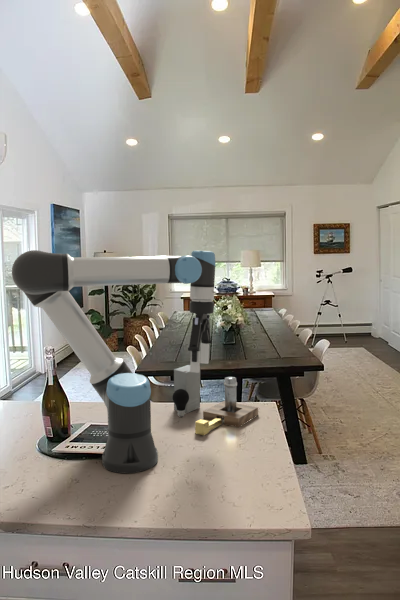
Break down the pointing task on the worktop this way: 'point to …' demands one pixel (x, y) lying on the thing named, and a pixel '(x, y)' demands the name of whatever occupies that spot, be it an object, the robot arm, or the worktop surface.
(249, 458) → the worktop surface
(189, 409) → the skincare box
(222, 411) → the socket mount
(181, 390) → the light bulb
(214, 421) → the lock pin
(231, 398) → the cylinder
